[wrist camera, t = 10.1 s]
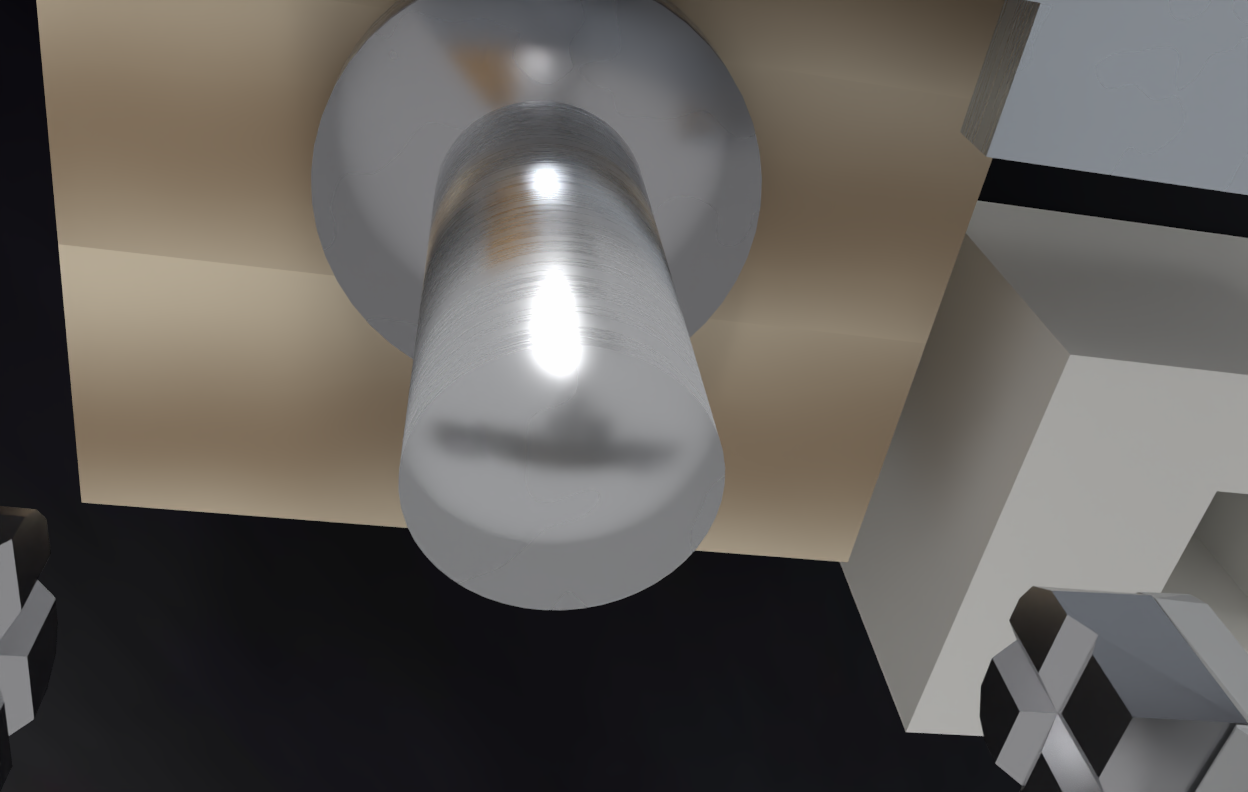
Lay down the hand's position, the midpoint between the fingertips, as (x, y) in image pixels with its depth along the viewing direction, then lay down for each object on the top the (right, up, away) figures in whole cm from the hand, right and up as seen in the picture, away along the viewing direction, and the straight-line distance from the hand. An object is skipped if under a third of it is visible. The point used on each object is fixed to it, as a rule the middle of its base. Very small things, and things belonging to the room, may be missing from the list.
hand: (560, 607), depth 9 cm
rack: (+12, +2, +18) cm, 22 cm away
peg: (-1, +8, +13) cm, 15 cm away
